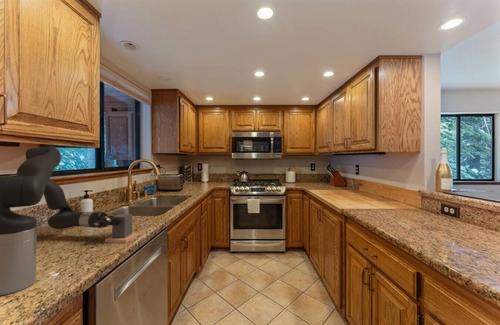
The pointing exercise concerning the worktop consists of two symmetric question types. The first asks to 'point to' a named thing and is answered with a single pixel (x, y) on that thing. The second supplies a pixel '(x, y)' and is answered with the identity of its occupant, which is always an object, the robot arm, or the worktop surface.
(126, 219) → the dark grey upright block
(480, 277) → the worktop surface
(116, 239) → the shaft plate
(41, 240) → the worktop surface
